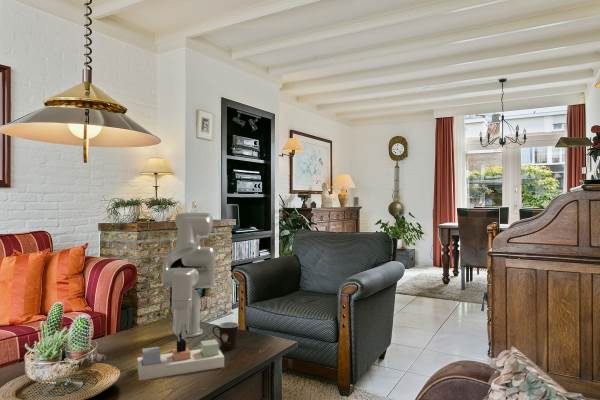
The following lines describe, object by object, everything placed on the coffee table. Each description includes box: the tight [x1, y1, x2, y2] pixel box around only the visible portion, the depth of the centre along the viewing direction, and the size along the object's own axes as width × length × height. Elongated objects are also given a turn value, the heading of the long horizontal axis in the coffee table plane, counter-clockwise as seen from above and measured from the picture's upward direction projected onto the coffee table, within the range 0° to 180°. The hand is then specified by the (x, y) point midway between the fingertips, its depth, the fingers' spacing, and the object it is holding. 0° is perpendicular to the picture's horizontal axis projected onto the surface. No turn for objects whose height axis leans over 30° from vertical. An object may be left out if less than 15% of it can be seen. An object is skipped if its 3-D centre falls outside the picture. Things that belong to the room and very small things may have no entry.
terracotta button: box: [171, 346, 190, 361], centre depth 158 cm, size 6×6×5 cm
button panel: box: [136, 348, 225, 381], centre depth 158 cm, size 12×31×4 cm, turn 115°
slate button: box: [141, 346, 161, 366], centre depth 154 cm, size 6×6×5 cm
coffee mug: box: [212, 321, 239, 351], centre depth 182 cm, size 12×9×10 cm
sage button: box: [200, 339, 220, 357], centre depth 163 cm, size 6×6×5 cm
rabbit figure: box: [96, 352, 107, 363], centre depth 163 cm, size 6×6×15 cm
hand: (181, 350), depth 158 cm, fingers closed
